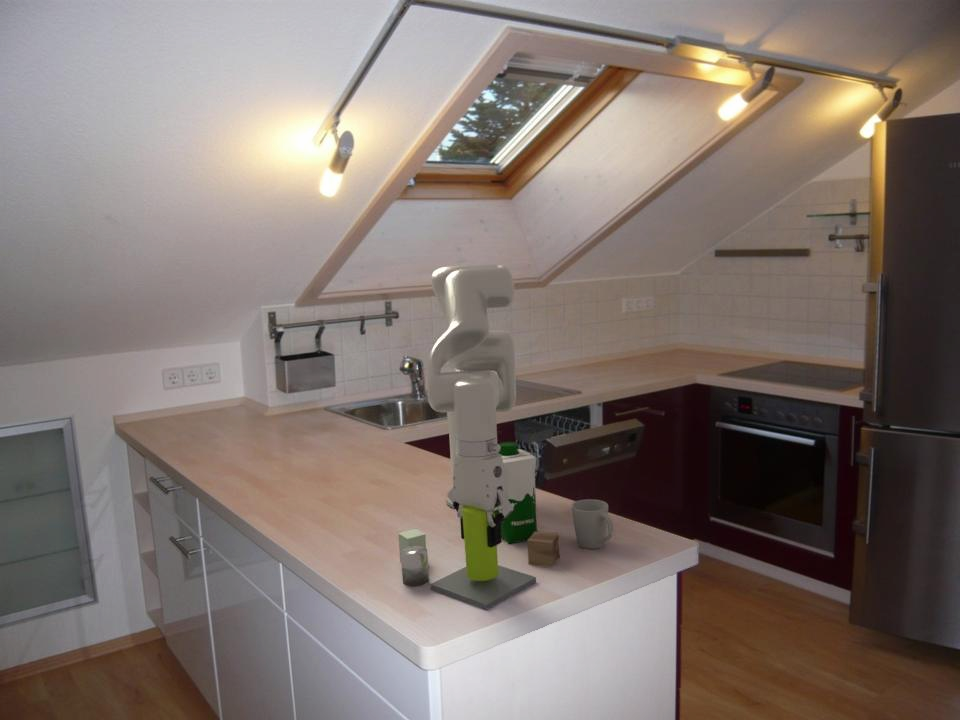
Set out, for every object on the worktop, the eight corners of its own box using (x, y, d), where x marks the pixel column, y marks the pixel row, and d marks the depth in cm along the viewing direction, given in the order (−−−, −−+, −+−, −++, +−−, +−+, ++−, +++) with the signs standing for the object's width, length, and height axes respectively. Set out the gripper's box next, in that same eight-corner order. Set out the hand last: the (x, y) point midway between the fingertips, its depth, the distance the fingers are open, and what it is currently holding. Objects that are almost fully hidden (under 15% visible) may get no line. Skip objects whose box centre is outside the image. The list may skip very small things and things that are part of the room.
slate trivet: (480, 564, 159) (480, 559, 159) (536, 582, 150) (536, 577, 150) (430, 589, 149) (430, 584, 149) (486, 610, 140) (486, 604, 140)
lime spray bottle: (497, 564, 153) (490, 463, 150) (499, 579, 146) (491, 474, 143) (466, 567, 153) (458, 465, 150) (467, 582, 146) (459, 476, 143)
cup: (591, 534, 172) (591, 496, 171) (625, 548, 164) (624, 508, 163) (565, 543, 168) (563, 504, 167) (597, 558, 160) (596, 517, 158)
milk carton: (524, 525, 179) (521, 438, 176) (543, 538, 171) (540, 447, 168) (489, 532, 176) (485, 444, 173) (506, 546, 168) (502, 454, 165)
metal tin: (416, 573, 157) (414, 544, 156) (434, 579, 153) (432, 549, 152) (397, 582, 153) (395, 552, 152) (415, 588, 150) (413, 558, 149)
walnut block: (535, 554, 163) (535, 531, 162) (559, 557, 161) (558, 533, 161) (528, 564, 159) (527, 540, 158) (552, 567, 157) (551, 542, 156)
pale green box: (417, 556, 165) (415, 528, 164) (426, 562, 162) (425, 534, 161) (400, 561, 163) (398, 533, 162) (409, 567, 159) (407, 538, 159)
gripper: (526, 448, 143) (530, 545, 145) (456, 435, 154) (461, 525, 157) (499, 458, 137) (503, 558, 140) (428, 444, 149) (434, 537, 151)
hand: (481, 540), depth 148 cm, fingers closed on lime spray bottle, 5 cm apart
